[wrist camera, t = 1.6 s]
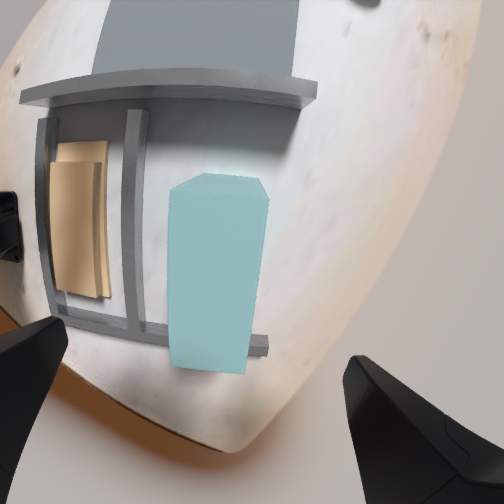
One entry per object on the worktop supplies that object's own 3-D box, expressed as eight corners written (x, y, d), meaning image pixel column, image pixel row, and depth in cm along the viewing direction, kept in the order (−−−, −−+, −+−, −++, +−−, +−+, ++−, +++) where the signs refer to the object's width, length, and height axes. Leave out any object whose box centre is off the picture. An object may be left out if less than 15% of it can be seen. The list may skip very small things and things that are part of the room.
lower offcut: (72, 283, 21) (65, 289, 20) (66, 143, 17) (58, 143, 16) (115, 290, 22) (109, 297, 20) (113, 140, 18) (106, 140, 17)
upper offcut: (64, 283, 20) (56, 289, 19) (59, 161, 17) (50, 162, 16) (102, 291, 20) (96, 298, 19) (102, 161, 17) (94, 162, 16)
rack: (60, 313, 21) (38, 336, 18) (52, 96, 15) (21, 90, 11) (265, 345, 23) (269, 378, 19) (303, 95, 16) (317, 81, 13)
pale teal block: (197, 283, 21) (170, 365, 12) (205, 172, 18) (169, 189, 10) (244, 288, 21) (244, 374, 12) (258, 178, 18) (269, 198, 10)
